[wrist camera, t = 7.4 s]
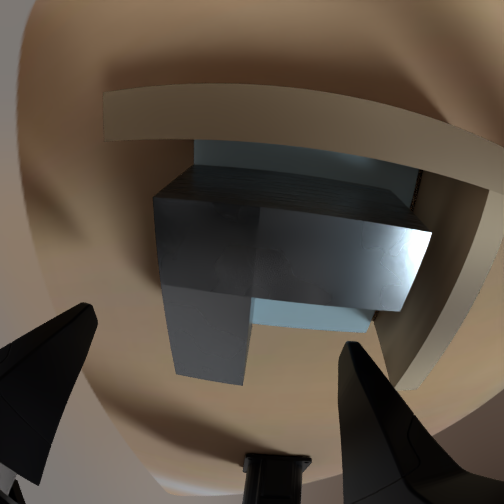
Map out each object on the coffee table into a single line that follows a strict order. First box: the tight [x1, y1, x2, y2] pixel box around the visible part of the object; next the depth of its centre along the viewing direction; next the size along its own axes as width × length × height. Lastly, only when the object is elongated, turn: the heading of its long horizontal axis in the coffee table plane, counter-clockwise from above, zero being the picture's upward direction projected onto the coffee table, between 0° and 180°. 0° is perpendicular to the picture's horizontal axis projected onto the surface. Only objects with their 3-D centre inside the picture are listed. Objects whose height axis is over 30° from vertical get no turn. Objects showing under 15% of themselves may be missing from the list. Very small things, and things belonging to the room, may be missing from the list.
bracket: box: [153, 164, 432, 386], centre depth 10 cm, size 7×7×4 cm
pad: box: [194, 139, 419, 333], centre depth 11 cm, size 8×8×1 cm
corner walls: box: [103, 83, 504, 391], centre depth 9 cm, size 9×11×4 cm
